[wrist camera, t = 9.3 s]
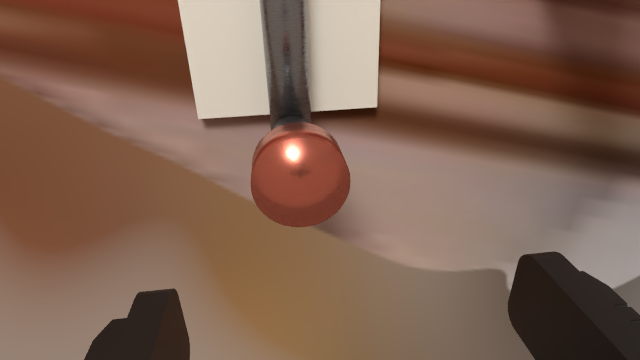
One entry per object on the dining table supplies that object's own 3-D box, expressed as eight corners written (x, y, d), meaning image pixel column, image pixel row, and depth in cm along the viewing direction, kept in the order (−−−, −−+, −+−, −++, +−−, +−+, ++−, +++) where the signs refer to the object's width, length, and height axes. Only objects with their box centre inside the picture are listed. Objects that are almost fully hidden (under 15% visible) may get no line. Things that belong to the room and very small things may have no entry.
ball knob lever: (221, -193, 21) (189, -316, 12) (316, -192, 22) (351, -310, 13) (258, 156, 30) (256, 231, 21) (325, 151, 31) (350, 222, 22)
